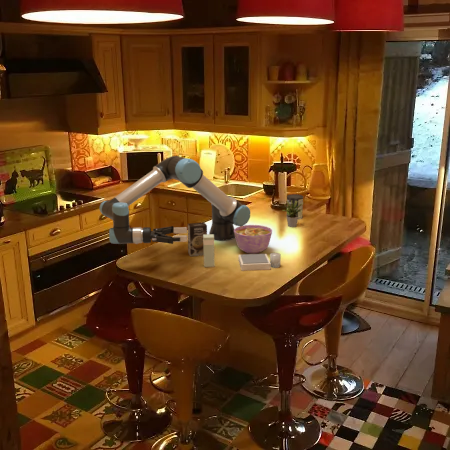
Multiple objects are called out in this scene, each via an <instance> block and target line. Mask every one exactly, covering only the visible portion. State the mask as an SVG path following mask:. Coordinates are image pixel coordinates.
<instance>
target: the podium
mask: <svg viewBox="0 0 450 450" xmlns="http://www.w3.org/2000/svg"><path fill="white" fill-rule="evenodd" d="M238 263H239V267H240V270H241V271H242V272H244V271H265V270H267V271H269V270H271V268H272V267H271V263H270V258H269V257H268V254H267V253H257V254H249V253H246V254H238Z"/></svg>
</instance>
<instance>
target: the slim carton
mask: <svg viewBox="0 0 450 450" xmlns="http://www.w3.org/2000/svg"><path fill="white" fill-rule="evenodd" d="M203 247H204V255H203V267H204V268H215V265H216V264H215V240H214V234H209V233H207V235H203Z"/></svg>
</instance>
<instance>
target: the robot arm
mask: <svg viewBox="0 0 450 450" xmlns="http://www.w3.org/2000/svg"><path fill="white" fill-rule="evenodd" d="M172 179H174V180H177V181H179V182H180V183H181V184H183V185H184V186H185V187H186V188H187V189H193V190H195V191H196V192H197V193H198V194H199V195H201V196H202V197H203V198H204V199H206V200H207V201H208V202H209V203H211V226H210V229H209V233H208V234H214V241H230V240H233V239H236V238H235V234H234V229H235V227H240V226H245V225H247V224H248V222H249V221H250V218H251V209H250V208H249V206H247V205H246V204H242V203H241V202H240V201H238V200H237V199H236V198H235V197H232V196H228V195H227V194H226V193H225V192H224V191H223V190H221V189H220V187H218V186H217V185H216V184H214V182H212V181H211V180H210V179H209V178H207V177H206V176H205V175H204V171H203V169H202V168H201V166H200V164H199V163H198V162H197V161H195V160H194V159H192V158H188V157H187V158H186V157H182V156H179V155H173V156H172V155H171V156H168V157H167V158H165V159H163V160H161V161H160V162H159V163H157V164H156V165H154V166H153V167H152V170H151V171H149V172H148V173H146V175H144V176H142V177H141V178H140V179H138V180H137V181H135V182H134V183H133V184H131V185H129V186H128V187H127V188H126V189H124V190H123V191H122V192H120V193H119V194H117V195H116V196H114V197H113V198H111V199H110V200H104V201H102V202H101V203H100V205H99V212H100V213H101V214H102V215H103V216H104V217H107V218H108V219H110V220H112V223H113V224H112V227H111V228H109V231H108V232H109V233H108V239H109V243H111V244H116V245H117V244H118V245H121V244H123V245H125V244H126V245H127V244H135V245H138V244H142V243H143V244H150V243H152V242H153V243H154V242H155V243H163V244H171V245H173V244H174V243H185V242H187V243H188V235H173V236H171V235H169V234H188V226H187V227H186V226H185V227H174V225H171V226H165V227H158V228H153V230H152V227H142V226H139V227H137V226H136V227H130V210H129V209H130V208H129V206H130V205H132V204H133V203H135V202H136V201H138V200H139V199H141V198H142V197H143V196H144V195H146V194H148V192H150V191H152V190H153V189H154V188H156V187H158V185H160V184H161V183H166V182H168V181H169V180H172ZM234 226H235V227H234Z"/></svg>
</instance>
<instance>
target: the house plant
mask: <svg viewBox="0 0 450 450" xmlns="http://www.w3.org/2000/svg"><path fill="white" fill-rule="evenodd" d="M297 202H298V201H297ZM297 202H296V201H295V204H294V206H293V203H292V200H291V203H292V204H291V207H290V204H289V203H288V202H287V200H286V204H285V203H283V205H284V206H285V207H286V209H282V211H283V212H286V213H287V212H288V213H289V215H287V214H286V222H287V227H289V228H296V227H297V225H298V221H299V219H298V216H297V214H298V213H297V212H301V210H300V209H298V208H299V207H300V206H301V204H300V205H299V206H297V207H296V205H297ZM287 204H288V206H287ZM302 204H303V205H304V202H303V203H302ZM287 208H288V210H287ZM295 208H296V209H295ZM296 213H297V214H296ZM301 213H302V214H303V211H302V212H301Z"/></svg>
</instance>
